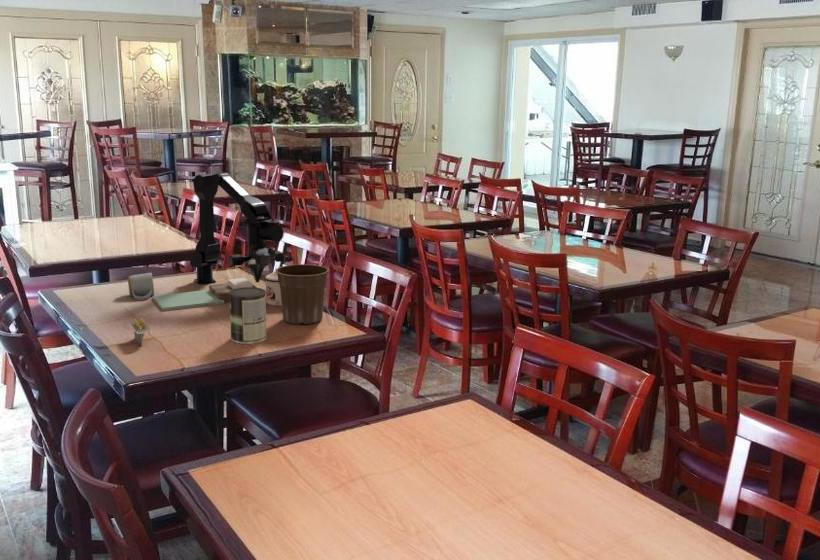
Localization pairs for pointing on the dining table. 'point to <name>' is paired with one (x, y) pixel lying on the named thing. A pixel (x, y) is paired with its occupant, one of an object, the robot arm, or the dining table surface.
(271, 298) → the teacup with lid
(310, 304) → the plant pot
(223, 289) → the walnut deck
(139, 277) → the ceramic mug
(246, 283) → the ivory tile
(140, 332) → the yellow flower bouquet
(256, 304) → the coffee can
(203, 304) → the sage mat
